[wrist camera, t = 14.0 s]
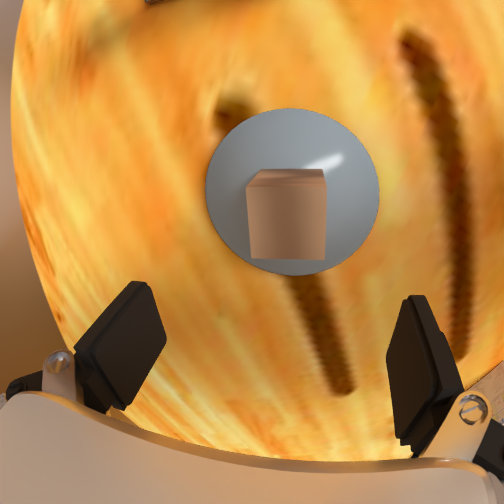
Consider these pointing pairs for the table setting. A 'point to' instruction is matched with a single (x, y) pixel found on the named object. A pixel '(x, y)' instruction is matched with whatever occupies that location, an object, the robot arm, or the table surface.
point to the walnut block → (287, 214)
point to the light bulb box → (493, 391)
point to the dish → (294, 157)
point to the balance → (152, 1)
